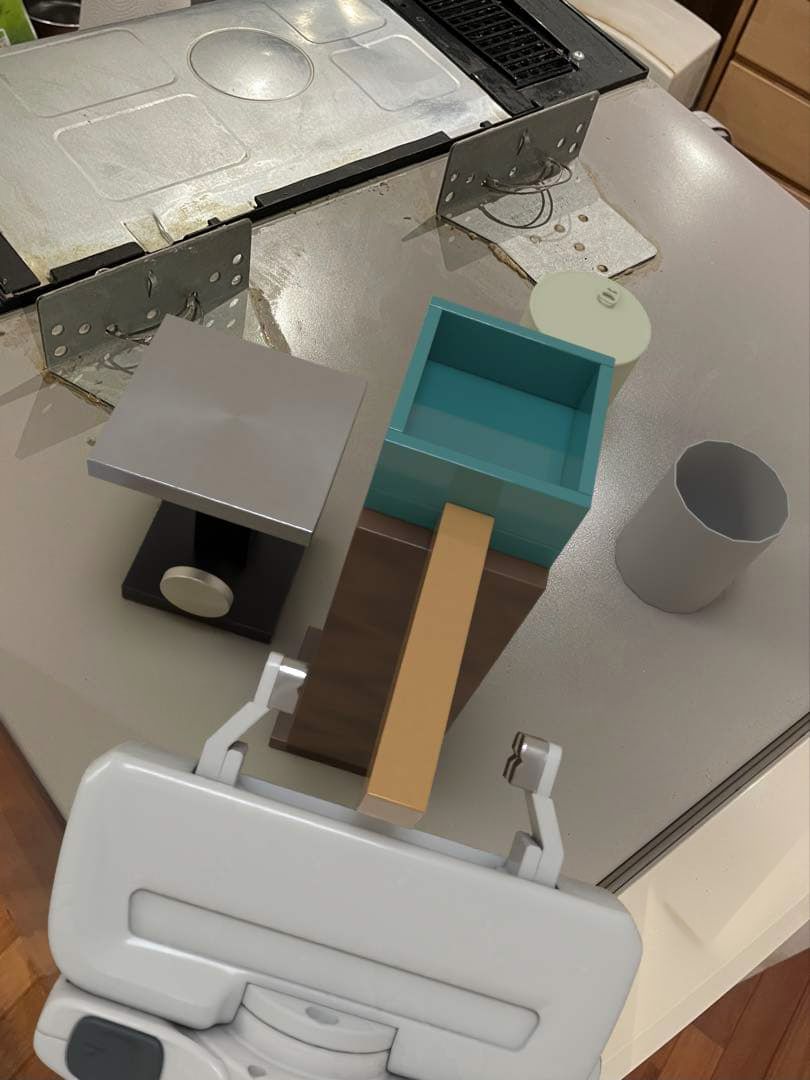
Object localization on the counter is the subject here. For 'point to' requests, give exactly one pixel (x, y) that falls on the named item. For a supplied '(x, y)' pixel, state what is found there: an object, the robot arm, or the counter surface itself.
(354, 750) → the plinth
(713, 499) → the cup
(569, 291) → the can
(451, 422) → the teal handled box
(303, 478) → the scale
